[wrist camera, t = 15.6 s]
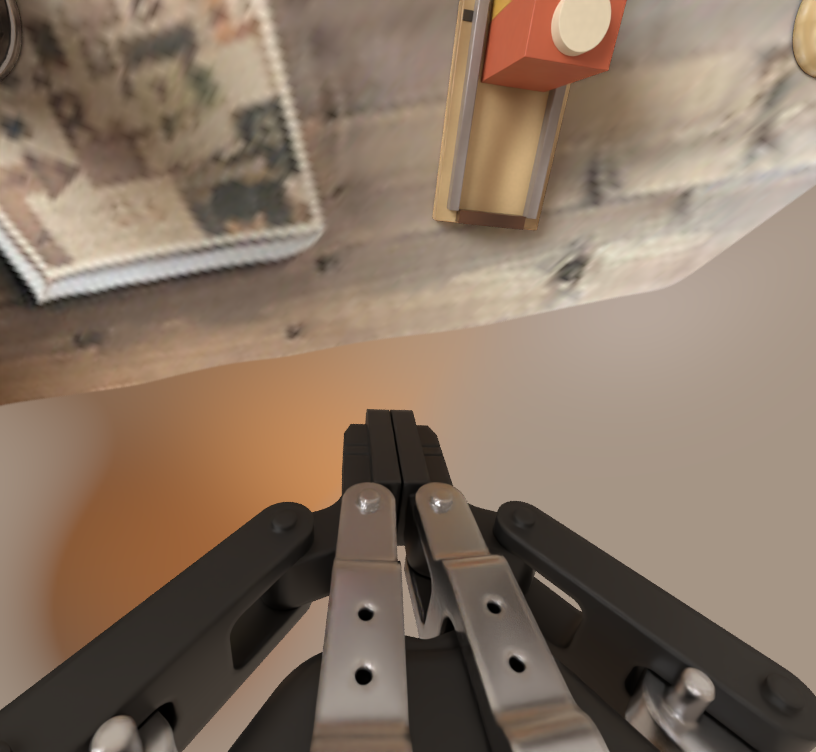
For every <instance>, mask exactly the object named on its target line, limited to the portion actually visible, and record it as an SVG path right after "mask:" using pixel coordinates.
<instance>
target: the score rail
mask: <svg viewBox="0 0 816 752" xmlns="http://www.w3.org/2000/svg"><path fill="white" fill-rule="evenodd" d="M492 4H493V0H460V1H459V9H458V17H457V25H456V33H455V41H454V49H453V57H452V65H451V73H450V81H449V89H448V97H447V105H446V113H445V121H444V129H443V137H442V145H441V153H440V161H439V169H438V177H437V185H436V193H435V201H434V209H433V217H432V218H433V219H435V220H436V221H446V222H456V223H462V224H472V225H482V226H492V227H502V228H512V229H522V230H523V229H526V230H537V227H538V222H539V218H540V214H541V210H542V205H543V201H544V197H545V192H546V188H547V184H548V179H549V175H550V171H551V166H552V162H553V158H554V153H555V149H556V145H557V140H558V136H559V132H560V128H561V123H562V119H563V115H564V110H565V106H566V102H567V97H568V93H569V89H570V84H571V83H570V84H567V85H564V86H561V87H558V88H555V89H552V90H549V91H546V92H539V91H533V90H526V89H520V88H513V87H506V86H500V85H493V84H487V83H481V76H482V70H483V63H484V57H485V50H486V44H487V37H488V30H489V24H490V17H491V11H492Z"/></svg>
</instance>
